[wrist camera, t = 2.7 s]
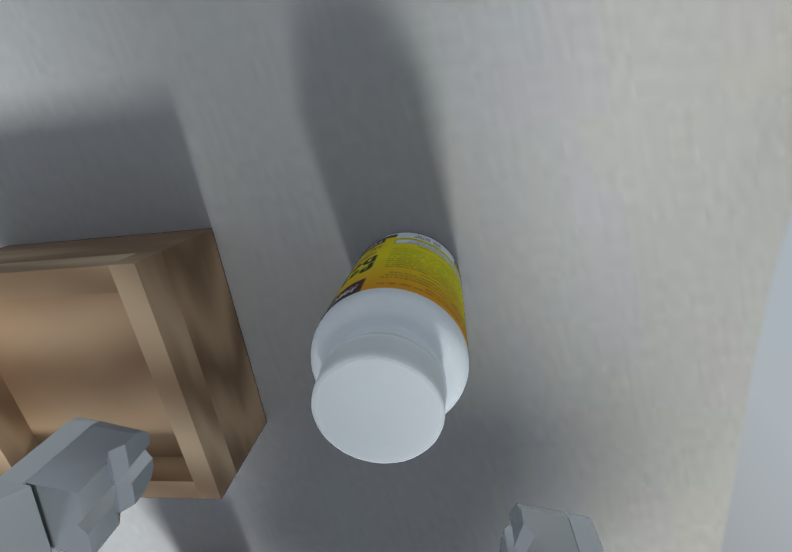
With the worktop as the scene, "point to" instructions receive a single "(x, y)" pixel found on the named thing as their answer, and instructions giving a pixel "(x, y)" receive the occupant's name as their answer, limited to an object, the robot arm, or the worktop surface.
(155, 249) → the brown wooden box
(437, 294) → the supplement bottle
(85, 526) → the robot arm
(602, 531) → the worktop surface
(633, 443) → the worktop surface
